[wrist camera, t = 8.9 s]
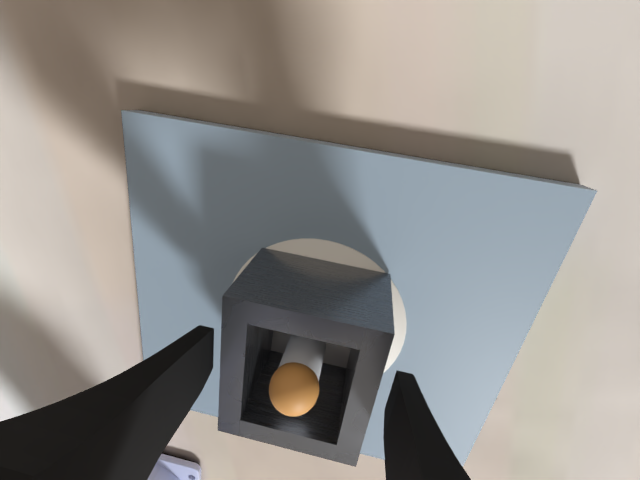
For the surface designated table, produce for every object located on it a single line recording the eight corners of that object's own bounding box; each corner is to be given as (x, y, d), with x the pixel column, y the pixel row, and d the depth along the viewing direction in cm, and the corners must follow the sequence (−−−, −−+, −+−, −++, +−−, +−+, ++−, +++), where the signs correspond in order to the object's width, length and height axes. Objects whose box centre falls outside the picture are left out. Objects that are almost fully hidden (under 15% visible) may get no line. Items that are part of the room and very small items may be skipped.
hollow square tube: (360, 386, 16) (355, 466, 13) (252, 360, 17) (217, 430, 13) (390, 273, 14) (394, 334, 10) (262, 247, 14) (222, 295, 11)
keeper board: (453, 460, 19) (483, 603, 13) (157, 385, 20) (77, 486, 15) (581, 184, 12) (736, 245, 7) (138, 109, 14) (-11, 112, 9)
